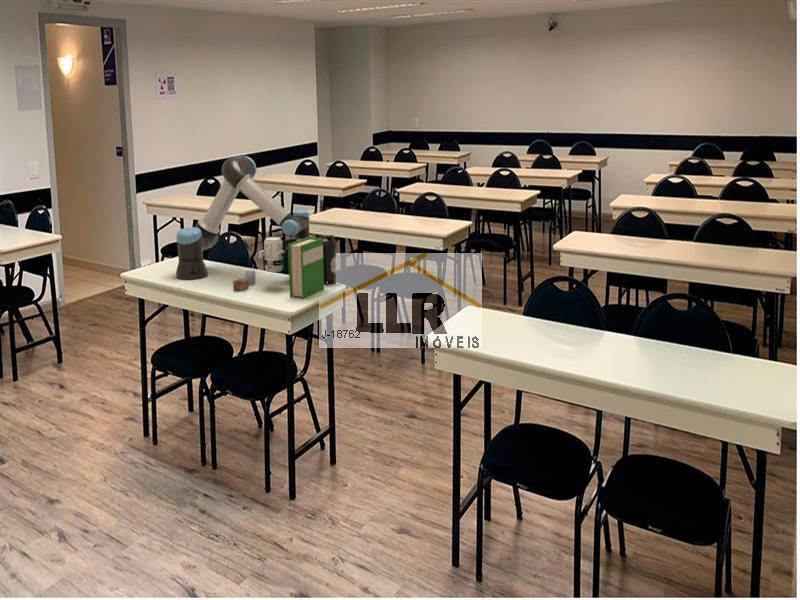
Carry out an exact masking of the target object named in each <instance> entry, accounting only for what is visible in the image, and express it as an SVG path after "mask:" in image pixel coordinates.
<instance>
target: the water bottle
mask: <svg viewBox="0 0 800 600" xmlns="http://www.w3.org/2000/svg"><path fill="white" fill-rule="evenodd" d="M334 237H335V235H333V234H330V235H323V234H318V235H317V236H316V238H323V269H324V286H329V285H328V284H332V285H334V284H336V280H337V278H336V276H337V274H336V273H337V264H336V263H337V255H336V254H337V251H336V250H337V245H338V244H337V241H336V239H335V238H334ZM327 282H328V283H327Z"/></svg>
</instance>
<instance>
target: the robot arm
mask: <svg viewBox="0 0 800 600" xmlns="http://www.w3.org/2000/svg"><path fill="white" fill-rule="evenodd" d="M256 173H257V165H256V163H255V161H254V160H253V159H252V158H251V157H249V156H246V155H238V156H236V157H229V158H228V159H226V160H225V161H224V162H223V163H222V166H221V175H222V177H223V179H224V181H223V182H222V184H221V185H220V187H219V190H218V192H217V193H216V195H214V199H213V200H212V202H211V204H210V206H209V208H208V209H207V211H206V213H205V215H204V216H203V218H202V219H201V218H200V219H199V220H198V221H197V222H196V225H194V226H191V227H184V228H181V229H180V230H178V231H177V233H176V244H177V255H178V262H177V268H176V272H175V278H176V279H178V278H179V280H184V281H185V280H186V281H190V280H199V278H200V279H204V278H206V276H207V277H208V276H209V274H208V273H209V271H208V269H207V267H206V264H205V262H204V255H203V254H204V251H205V250H206V251H207V250H208V249H211V248H213V247H214V246H215V245H216V244H217V242H218V239H219V234H220V228H219V227H220V225H221V224H222V222H223V220H224V219H225V217H226V215H227V213H228V211H229V209H230V208H231V206H232V204H233V203H234V201H235V199H236V197H237V195H238V194H239V192H241V193H242V194H243V195H244V196H246V197H247V198H248V199H249V200H250V201H251V202H252V203H253V204H255V205H256V206H257V207H258V208H259V209H260V210H261V211H262V212H263V213H265V215H267V217H269V218H270V219H271V220H273V221H274V222H275V223H276V224H277V225H278V226H279V227H280V228H281V231H282V233H283V235H285V236H287V237H290V238H287V239H286V240H284V241H282V249H283V251H281V252H278V253H276V259H280V258H282V257H283V258H284V257H288V244H290V243H293V242H296V241H299V240H302V239H305V238H308V237H311V238H313V236H312V235H311V234H310V213H309V211H308V210H305V209H298V210H294V211H293V215H292V214H291V213H290V212H289V211H288V210H287V209H285V208H284V207H283V206H282V205H281V204H280V203H279V202H277V200H275V199H274V198H273V197H272V196H271V195H269V193H267V191H265V189H263V188H262V187H261V186H260V185H258V183H256V182H255V181H254V180H253V178H254V177H255V175H256ZM258 257H259V258H263V257H265V254H264V247H262V248H261V250H260V251H258Z"/></svg>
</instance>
